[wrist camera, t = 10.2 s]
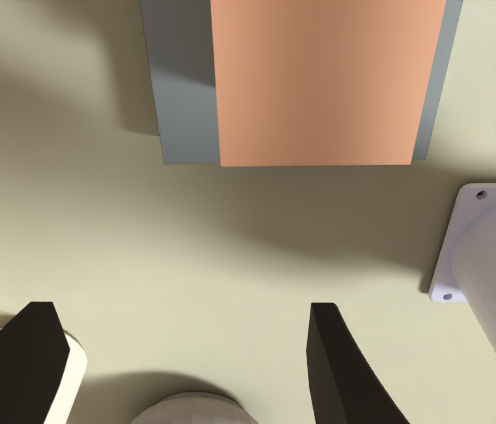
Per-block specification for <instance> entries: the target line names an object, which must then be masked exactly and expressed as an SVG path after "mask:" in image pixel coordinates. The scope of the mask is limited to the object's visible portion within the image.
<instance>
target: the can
mask: <svg viewBox="0 0 496 424" xmlns="http://www.w3.org/2000/svg"><path fill="white" fill-rule="evenodd" d="M1 329H2V328H1ZM1 329H0V330H1ZM63 331H64V330H63ZM64 334H65V336H66V339H67V341H68V344H69V347H70V353H69V356H68V360H67V364H66V367H65V371H64V374H63V377H62V380H61V384H60V386H59V389H58V391H57V394H56V396H55V399H54V401H53V403H52V406H51V408H50V410H49V413H48V415H47V417H46V420H45V422H44V424H66V421H67V419H68V416H69V413H70V411H71V408H72V405H73V403H74V400H75V397H76V394H77V392H78V389H79V386H80V384H81V381H82V378H83V375H84V373H85V370H86V366H87V358H86V355H85V352H84V350H83V348H82V346H81V345H80V343H79V342H78V341H77V340H76V339H75V338H74V337H73V336H72V335H70V334H69V333H67V332H65V331H64Z"/></svg>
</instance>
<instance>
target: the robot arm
mask: <svg viewBox="0 0 496 424" xmlns="http://www.w3.org/2000/svg"><path fill="white" fill-rule="evenodd" d="M480 191H483V193H482V194H481V195H478V196H476V195H477V194H478V193H479V192H480ZM445 294H447V295H445ZM428 295H429V297H430V299H431V301H433V302H468V304H469V305H470V307H471V309H472V311H473V312H474V314H475V316H476V318H477V320H478V321H479V323H480V325H481V327H482V329H483V330H484V332H485V334H486V336H487V337H488V339H489V341H490V343H491V345H492V346H493V348H494V350H495V352H496V183H470V184H466V185H464V186H463V187H462V188H460V190H459V192H458V195H457V199H456V202H455V205H454V209H453V212H452V215H451V219H450V222H449V225H448V229H447V232H446V235H445V239H444V242H443V245H442V249H441V252H440V255H439V259H438V262H437V265H436V269H435V272H434V275H433V279H432V282H431V285H430V289H429V292H428ZM69 353H70V347H69V344H68V341H67V339H66V336H65V334H64V331H63V328H62V326H61V323H60V320H59V318H58V315H57V312H56V310H55V307H54V304H53V302H30V303H29V304H28V305H27V306H26V307H25V308H23V309H22V310H21V311H20V312H19V313H18V314H17V315H16V316H15V317H14V318H13V319H12V320H11V321H10V322H9V323H7V324H6V325H5V326H4V327H3V328H2V329H1V330H0V424H44V422H45V420H46V417H47V415H48V413H49V410H50V408H51V406H52V403H53V401H54V399H55V396H56V394H57V391H58V389H59V386H60V384H61V380H62V377H63V374H64V371H65V367H66V364H67V360H68V356H69ZM306 354H307V367H308V379H309V388H310V394H311V400H312V405H313V410H314V416H315V421H316V424H410V423H409V422H408V420H407V419H406V418H405V417H404V415H403V414H402V412H401V411H400V410H399V408H398V407H397V406H396V404H395V403H394V401H393V400H392V399H391V397H390V396H389V394H388V393H387V391H386V390H385V389H384V387H383V386H382V384H381V383H380V381H379V380H378V378H377V377H376V375H375V374H374V372H373V370H372V369H371V367H370V366H369V364H368V362H367V361H366V359H365V358H364V356H363V354H362V353H361V351H360V349H359V347H358V346H357V344H356V342H355V340H354V339H353V337H352V335H351V333H350V331H349V329H348V328H347V326H346V324H345V322H344V320H343V318H342V316H341V314H340V311H339V309H338V307H337V305H336V304H334V303H311V311H310V320H309V329H308V339H307V348H306Z"/></svg>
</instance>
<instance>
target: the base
mask: <svg viewBox="0 0 496 424" xmlns="http://www.w3.org/2000/svg"><path fill="white" fill-rule="evenodd" d="M139 3H140V9H141V16H142V23H143V29H144V36H145V42H146V49H147V55H148V62H149V69H150V75H151V82H152V88H153V95H154V101H155V108H156V115H157V121H158V128H159V134H160V141H161V147H162V154H163V160H164V164H201V163H221V160H220V144H219V128H218V112H217V96H216V80H215V64H214V49H213V33H212V17H211V1H210V0H139ZM462 3H463V0H446V4H445V9H444V14H443V18H442V23H441V27H440V32H439V36H438V41H437V45H436V50H435V54H434V59H433V64H432V68H431V73H430V77H429V82H428V86H427V91H426V95H425V100H424V104H423V109H422V114H421V118H420V123H419V127H418V132H417V136H416V141H415V145H414V150H413V155H412V159H411V160H426V156H427V152H428V147H429V143H430V139H431V135H432V130H433V126H434V122H435V118H436V113H437V109H438V105H439V101H440V96H441V92H442V88H443V84H444V79H445V75H446V71H447V67H448V63H449V58H450V54H451V50H452V46H453V41H454V37H455V33H456V29H457V24H458V20H459V16H460V12H461V7H462Z"/></svg>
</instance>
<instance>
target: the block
mask: <svg viewBox="0 0 496 424" xmlns="http://www.w3.org/2000/svg"><path fill="white" fill-rule="evenodd" d="M210 1H211V17H212V33H213V49H214V64H215V80H216V96H217V112H218V128H219V144H220V160H221V167H235V166H325V165H410V164H411V159H412V155H413V150H414V145H415V141H416V136H417V132H418V127H419V123H420V118H421V114H422V109H423V104H424V100H425V95H426V91H427V86H428V82H429V77H430V73H431V68H432V64H433V59H434V54H435V50H436V45H437V41H438V36H439V32H440V27H441V23H442V18H443V14H444V9H445V4H446V0H210Z"/></svg>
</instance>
